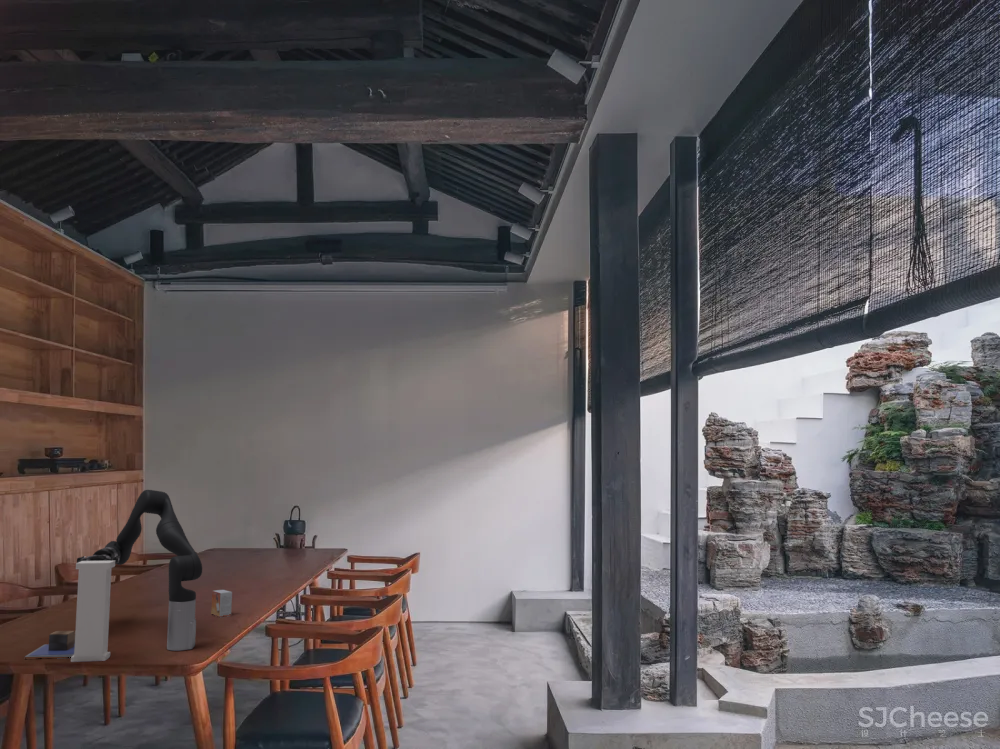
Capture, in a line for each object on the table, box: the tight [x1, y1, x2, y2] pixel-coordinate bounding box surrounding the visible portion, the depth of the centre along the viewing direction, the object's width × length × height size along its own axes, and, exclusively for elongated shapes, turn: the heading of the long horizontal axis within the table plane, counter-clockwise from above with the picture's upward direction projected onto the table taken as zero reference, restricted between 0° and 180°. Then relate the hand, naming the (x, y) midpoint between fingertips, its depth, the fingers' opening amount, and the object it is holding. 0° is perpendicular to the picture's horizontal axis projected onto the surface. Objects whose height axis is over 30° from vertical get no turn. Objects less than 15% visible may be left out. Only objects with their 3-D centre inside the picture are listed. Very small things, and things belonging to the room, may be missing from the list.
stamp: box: [48, 630, 76, 650], centre depth 301 cm, size 6×15×6 cm, turn 3°
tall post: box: [70, 561, 116, 663], centre depth 288 cm, size 11×6×33 cm, turn 100°
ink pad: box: [24, 643, 75, 659], centre depth 295 cm, size 16×18×1 cm
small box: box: [210, 589, 233, 617], centre depth 363 cm, size 8×6×10 cm
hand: (92, 562), depth 312 cm, fingers open, 8 cm apart
